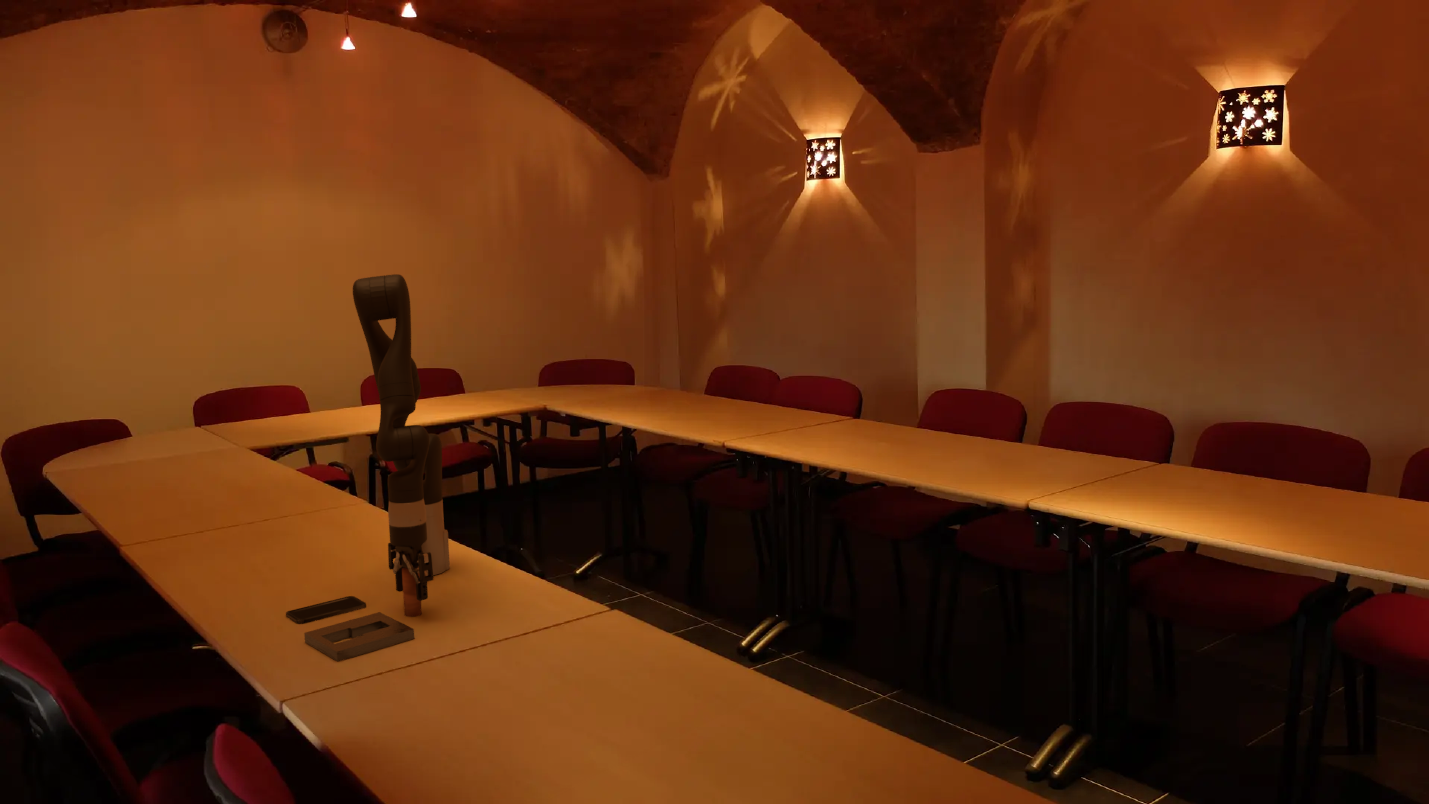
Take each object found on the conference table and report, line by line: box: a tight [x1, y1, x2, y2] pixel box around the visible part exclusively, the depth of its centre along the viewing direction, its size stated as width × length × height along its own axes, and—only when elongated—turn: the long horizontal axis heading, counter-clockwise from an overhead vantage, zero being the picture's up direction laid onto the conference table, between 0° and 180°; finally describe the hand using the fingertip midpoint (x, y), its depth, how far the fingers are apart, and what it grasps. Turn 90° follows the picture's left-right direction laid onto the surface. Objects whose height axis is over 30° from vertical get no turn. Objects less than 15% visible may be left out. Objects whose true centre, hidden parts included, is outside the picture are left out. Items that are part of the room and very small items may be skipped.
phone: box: [285, 595, 367, 625], centre depth 228 cm, size 8×1×15 cm
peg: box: [402, 567, 422, 618], centre depth 225 cm, size 4×4×10 cm
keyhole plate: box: [303, 611, 415, 663], centre depth 211 cm, size 16×14×2 cm
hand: (411, 595), depth 225 cm, fingers open, 8 cm apart
